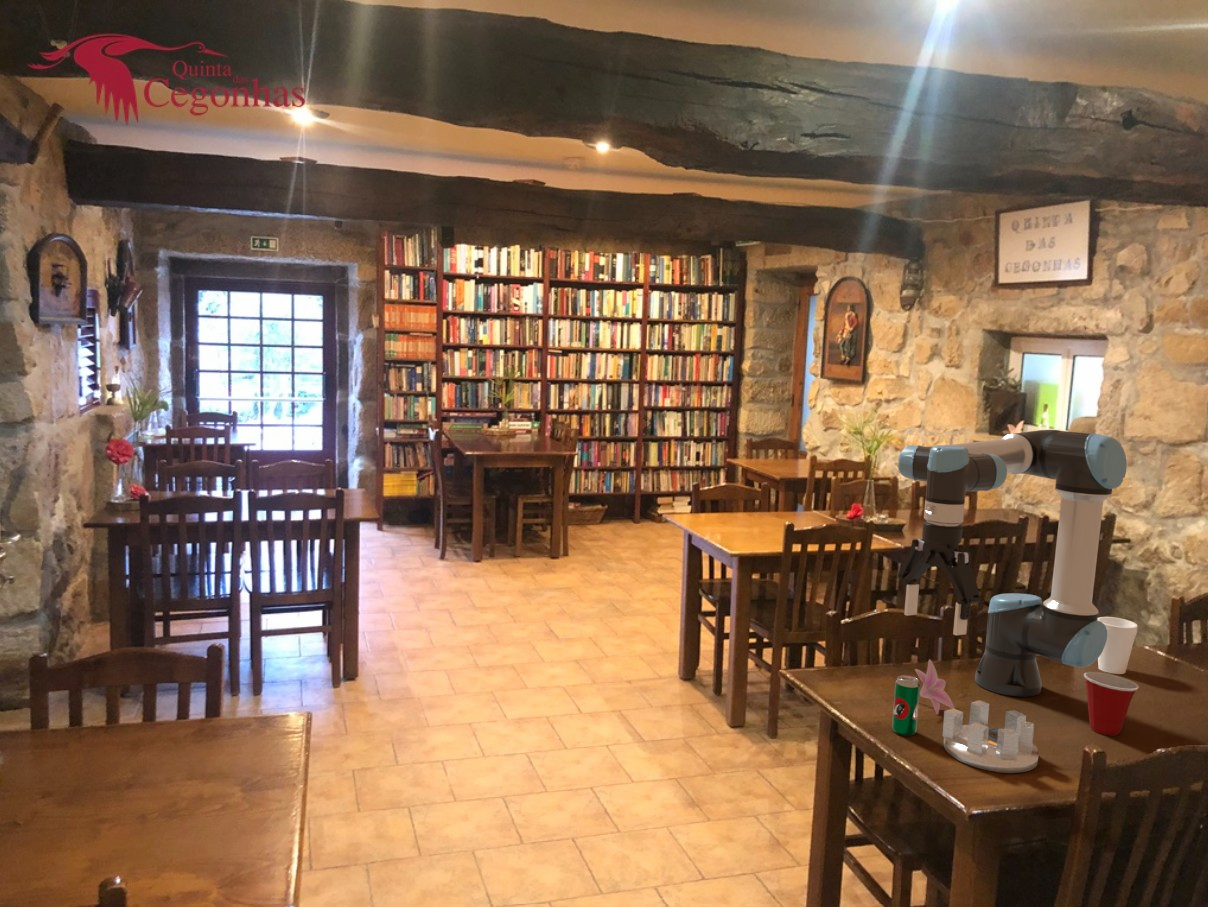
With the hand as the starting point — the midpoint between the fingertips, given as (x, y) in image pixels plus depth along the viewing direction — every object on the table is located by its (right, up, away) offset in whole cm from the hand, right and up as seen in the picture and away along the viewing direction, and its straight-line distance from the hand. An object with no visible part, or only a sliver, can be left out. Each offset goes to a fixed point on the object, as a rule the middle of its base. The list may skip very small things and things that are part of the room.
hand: (934, 624), depth 187 cm
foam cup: (+67, -23, +55) cm, 89 cm away
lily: (+8, -24, +25) cm, 36 cm away
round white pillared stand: (+12, -27, +2) cm, 30 cm away
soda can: (-3, -26, +11) cm, 28 cm away
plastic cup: (+44, -27, +16) cm, 54 cm away
